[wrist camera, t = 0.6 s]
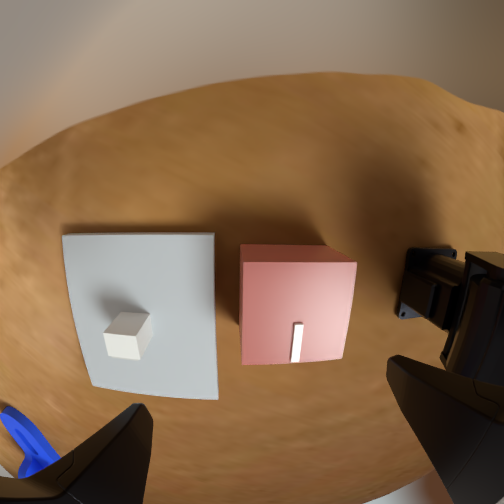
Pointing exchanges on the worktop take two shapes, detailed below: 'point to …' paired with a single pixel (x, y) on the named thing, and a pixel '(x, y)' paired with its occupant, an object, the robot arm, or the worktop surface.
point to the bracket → (28, 442)
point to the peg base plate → (145, 310)
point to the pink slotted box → (293, 303)
